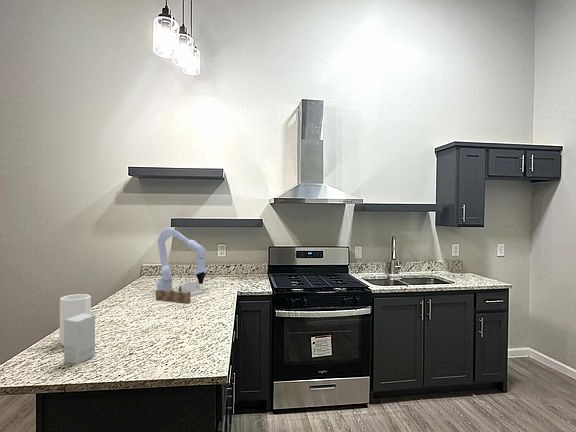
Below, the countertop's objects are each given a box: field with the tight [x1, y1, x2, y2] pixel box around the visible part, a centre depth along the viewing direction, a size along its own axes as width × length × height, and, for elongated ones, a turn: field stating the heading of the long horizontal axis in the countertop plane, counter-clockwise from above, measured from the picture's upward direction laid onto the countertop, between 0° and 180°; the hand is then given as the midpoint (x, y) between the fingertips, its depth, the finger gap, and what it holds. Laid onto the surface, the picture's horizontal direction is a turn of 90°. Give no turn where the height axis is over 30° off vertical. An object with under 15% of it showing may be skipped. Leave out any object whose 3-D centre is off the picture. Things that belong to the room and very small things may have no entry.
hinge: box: [178, 281, 204, 298], centre depth 237 cm, size 17×5×10 cm, turn 148°
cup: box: [59, 293, 92, 347], centre depth 150 cm, size 11×11×18 cm
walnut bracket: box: [155, 289, 192, 304], centre depth 223 cm, size 24×9×6 cm, turn 70°
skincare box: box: [63, 313, 96, 365], centre depth 131 cm, size 8×7×16 cm
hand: (200, 283), depth 248 cm, fingers closed
